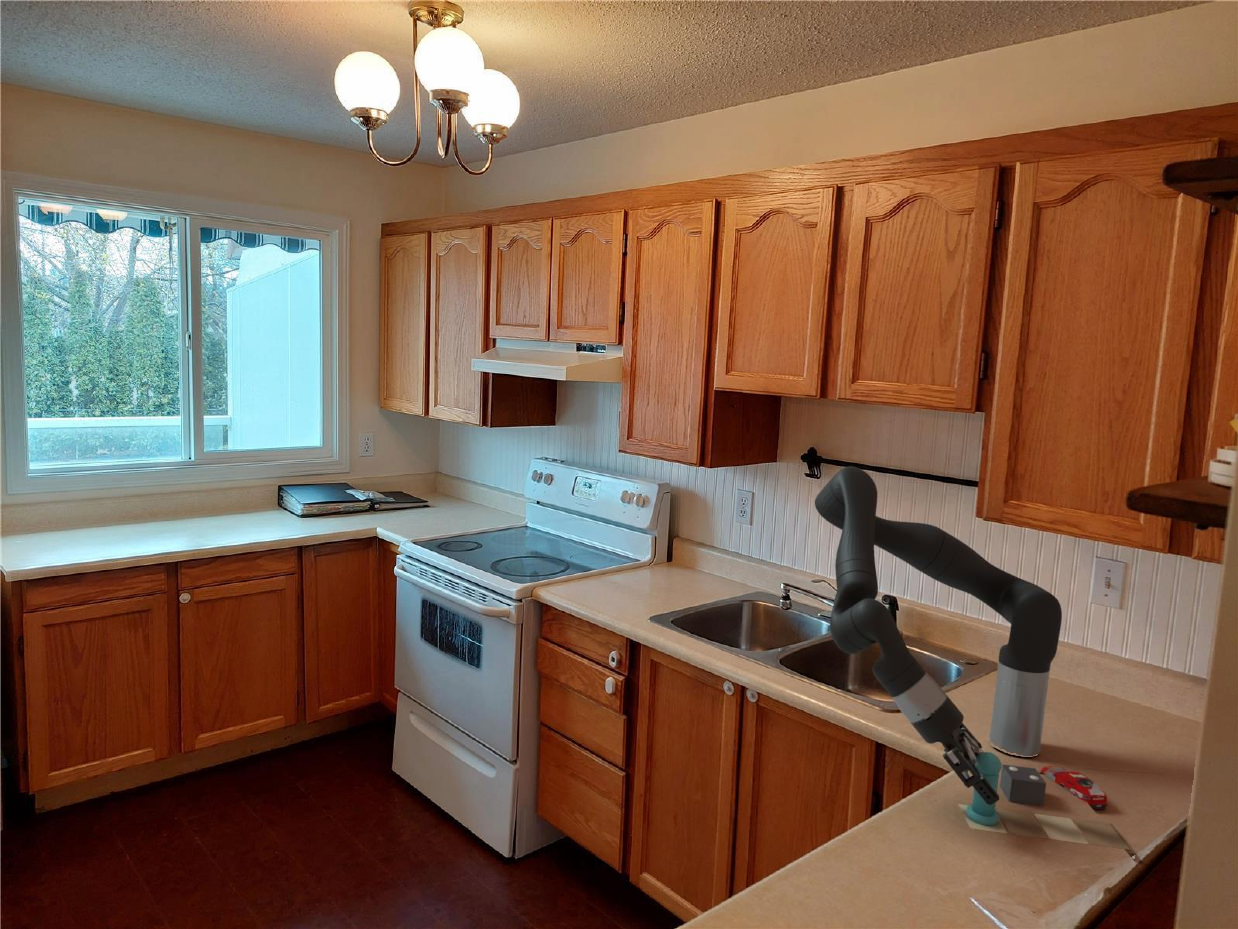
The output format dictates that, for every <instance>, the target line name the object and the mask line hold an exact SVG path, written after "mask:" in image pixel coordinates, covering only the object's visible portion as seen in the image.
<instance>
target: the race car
mask: <svg viewBox="0 0 1238 929" xmlns="http://www.w3.org/2000/svg"><path fill="white" fill-rule="evenodd" d="M1038 773H1039V774H1040V775H1044V776H1046V777H1047V778H1048V779H1049V780H1051V781H1053V782H1055V783H1056V784H1058V785H1059V786H1060V787H1062V788H1064V789H1065V790H1066V791H1067V792H1069V793H1071V794H1073V796H1075V797H1076V798H1078V799H1079V800H1081V801H1083V802H1085V803H1087V804H1088V806H1090V808H1091V809H1092V810H1099V809H1100V810H1101V809H1107V808H1108V796H1107V795H1106V793H1105V791H1103V790H1102V789H1101V788H1100V787H1099V786H1098V785H1097V784H1096V783H1095V782H1094V781H1093V780H1091V779H1090V778H1089V777H1088V776H1086V775H1084V774H1083V773H1081V772H1078V771H1073V770H1071V771H1070V770H1067V769H1065V768H1063V767H1058V766H1053V765H1048V766H1043V767H1042V768H1040V770H1039V772H1038Z"/></svg>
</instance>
